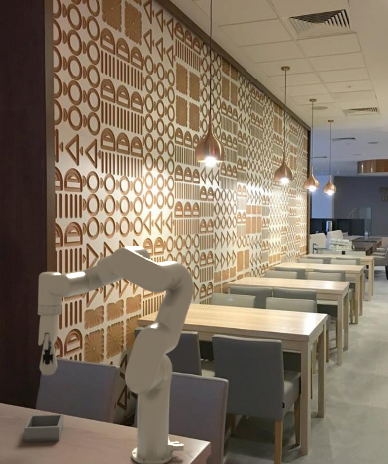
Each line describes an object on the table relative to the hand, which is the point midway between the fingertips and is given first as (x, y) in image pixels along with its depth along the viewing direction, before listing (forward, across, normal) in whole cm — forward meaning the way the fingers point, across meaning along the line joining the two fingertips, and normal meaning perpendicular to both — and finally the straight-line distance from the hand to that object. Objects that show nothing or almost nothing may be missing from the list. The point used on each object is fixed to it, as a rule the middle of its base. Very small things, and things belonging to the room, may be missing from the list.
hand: (48, 363), depth 170 cm
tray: (+24, 0, -1) cm, 24 cm away
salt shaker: (+3, 0, 0) cm, 3 cm away
